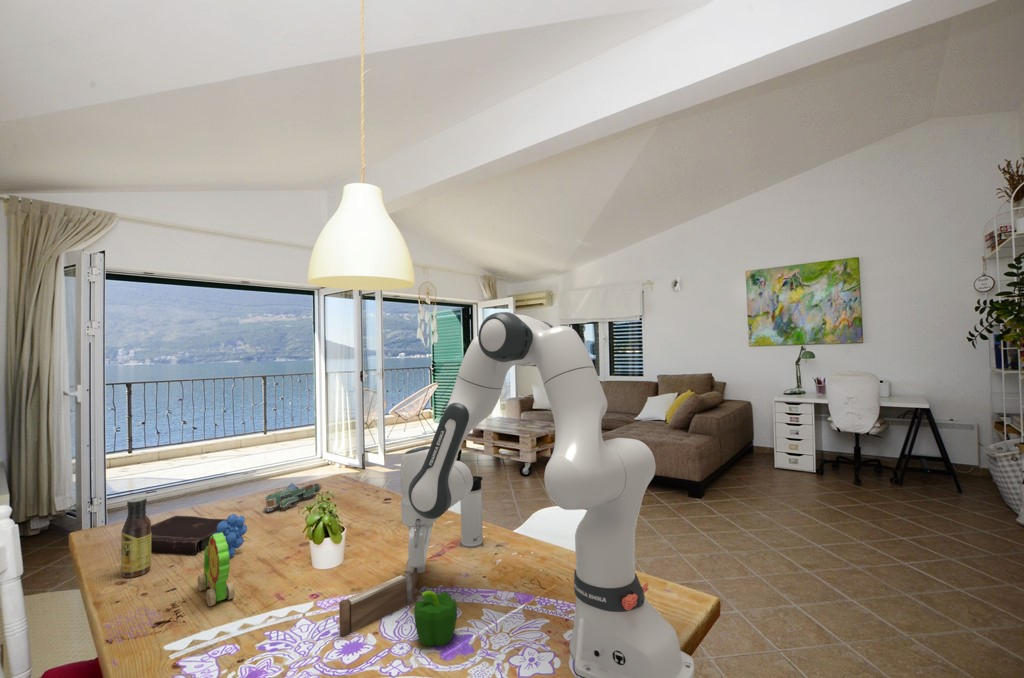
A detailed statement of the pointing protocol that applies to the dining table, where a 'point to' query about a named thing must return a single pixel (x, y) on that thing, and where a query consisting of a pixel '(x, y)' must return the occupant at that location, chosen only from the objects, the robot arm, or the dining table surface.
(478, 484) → the travel mug
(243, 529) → the grapes
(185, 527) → the diary
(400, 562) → the dining table surface
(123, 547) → the sauce bottle
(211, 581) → the toy lion
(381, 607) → the fixed fence
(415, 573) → the hinged panel
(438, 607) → the bell pepper
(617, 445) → the robot arm
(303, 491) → the hoverbike
